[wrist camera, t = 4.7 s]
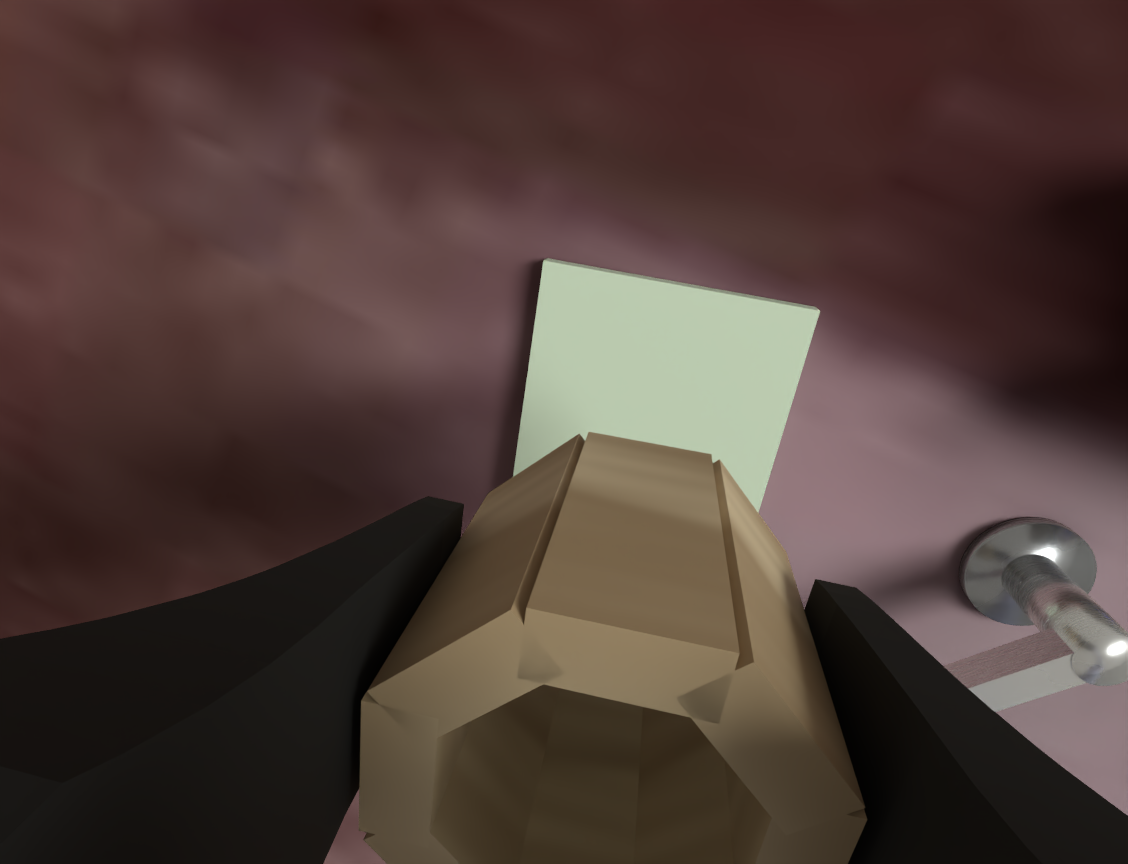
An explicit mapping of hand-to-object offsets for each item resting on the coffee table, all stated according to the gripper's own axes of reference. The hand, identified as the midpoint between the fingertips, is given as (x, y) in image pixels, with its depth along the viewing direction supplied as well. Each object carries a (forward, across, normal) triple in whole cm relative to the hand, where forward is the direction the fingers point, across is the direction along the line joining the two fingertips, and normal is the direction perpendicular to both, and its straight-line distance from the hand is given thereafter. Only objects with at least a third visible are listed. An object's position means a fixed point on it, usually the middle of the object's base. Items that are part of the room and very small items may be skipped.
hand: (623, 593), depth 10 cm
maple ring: (+2, 0, +1) cm, 2 cm away
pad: (+8, 0, 0) cm, 9 cm away
